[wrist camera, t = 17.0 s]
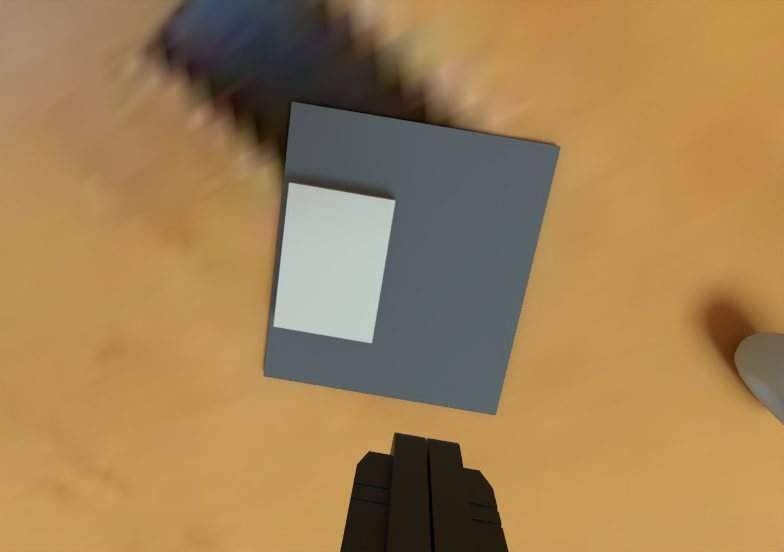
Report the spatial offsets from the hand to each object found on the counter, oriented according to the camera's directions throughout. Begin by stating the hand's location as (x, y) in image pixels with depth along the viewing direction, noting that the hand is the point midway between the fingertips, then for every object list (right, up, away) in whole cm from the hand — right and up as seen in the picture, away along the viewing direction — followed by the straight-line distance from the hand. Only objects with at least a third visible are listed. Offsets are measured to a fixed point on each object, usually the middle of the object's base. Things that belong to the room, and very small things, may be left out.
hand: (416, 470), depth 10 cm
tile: (-1, +5, +20) cm, 21 cm away
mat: (0, +5, +22) cm, 22 cm away
